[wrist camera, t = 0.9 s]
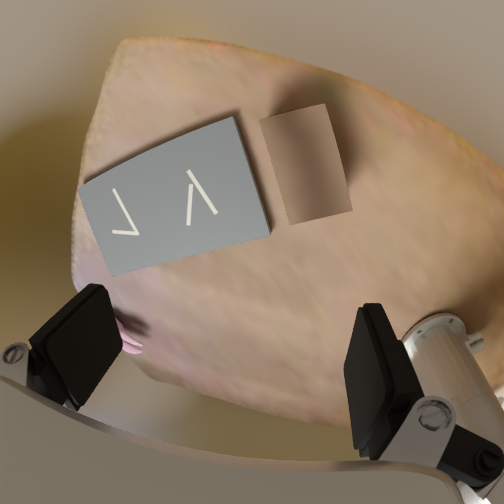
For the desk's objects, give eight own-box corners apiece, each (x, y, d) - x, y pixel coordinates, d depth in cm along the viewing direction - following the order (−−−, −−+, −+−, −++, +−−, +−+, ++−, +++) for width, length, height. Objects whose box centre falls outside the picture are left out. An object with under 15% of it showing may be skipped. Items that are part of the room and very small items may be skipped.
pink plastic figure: (87, 312, 46) (147, 355, 43) (65, 327, 41) (127, 375, 38) (86, 286, 44) (151, 329, 41) (62, 300, 38) (128, 350, 36)
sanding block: (318, 112, 28) (324, 103, 21) (341, 196, 31) (352, 210, 24) (266, 125, 29) (258, 119, 23) (291, 208, 32) (289, 225, 26)
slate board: (235, 117, 29) (232, 116, 28) (271, 231, 34) (270, 235, 32) (83, 186, 35) (77, 188, 34) (117, 272, 39) (112, 276, 38)
